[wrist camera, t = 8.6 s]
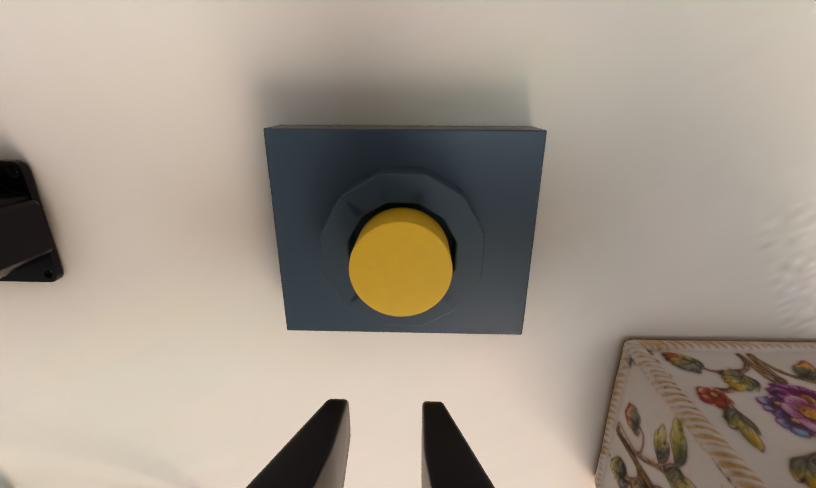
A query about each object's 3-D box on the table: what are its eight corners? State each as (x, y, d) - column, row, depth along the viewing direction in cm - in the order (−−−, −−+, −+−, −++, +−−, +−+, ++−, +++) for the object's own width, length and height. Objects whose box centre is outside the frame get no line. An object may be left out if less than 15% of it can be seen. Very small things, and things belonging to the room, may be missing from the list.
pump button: (358, 292, 18) (350, 316, 16) (354, 206, 16) (345, 221, 15) (447, 293, 18) (450, 318, 16) (450, 207, 16) (455, 222, 14)
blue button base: (298, 309, 22) (274, 351, 19) (279, 124, 19) (245, 131, 15) (512, 313, 22) (531, 357, 18) (533, 126, 19) (562, 134, 15)
